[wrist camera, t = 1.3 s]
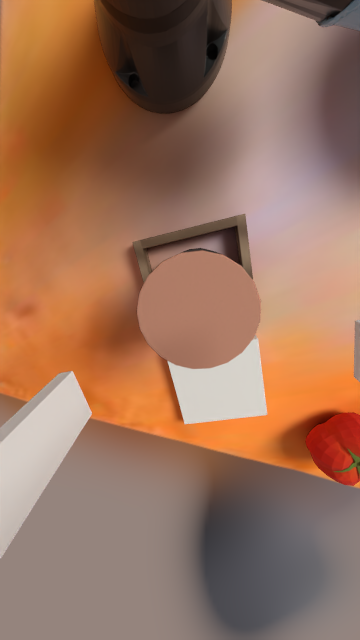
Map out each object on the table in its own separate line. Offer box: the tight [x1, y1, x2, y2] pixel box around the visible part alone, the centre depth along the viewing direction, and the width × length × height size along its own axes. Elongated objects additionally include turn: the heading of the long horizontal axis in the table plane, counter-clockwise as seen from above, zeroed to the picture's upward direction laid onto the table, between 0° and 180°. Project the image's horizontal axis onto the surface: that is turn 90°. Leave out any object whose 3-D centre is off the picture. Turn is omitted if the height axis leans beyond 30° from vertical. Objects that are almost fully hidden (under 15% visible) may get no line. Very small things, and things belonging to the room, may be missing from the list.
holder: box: [133, 214, 253, 282], centre depth 34 cm, size 16×16×2 cm
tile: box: [168, 335, 267, 424], centre depth 40 cm, size 16×16×2 cm
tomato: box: [306, 413, 360, 486], centre depth 38 cm, size 14×13×9 cm
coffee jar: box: [137, 248, 261, 369], centre depth 27 cm, size 11×11×18 cm
